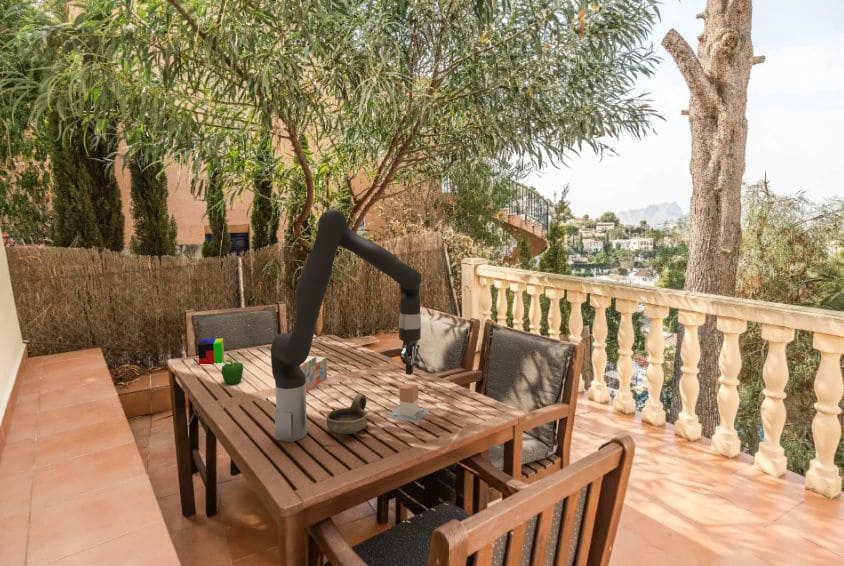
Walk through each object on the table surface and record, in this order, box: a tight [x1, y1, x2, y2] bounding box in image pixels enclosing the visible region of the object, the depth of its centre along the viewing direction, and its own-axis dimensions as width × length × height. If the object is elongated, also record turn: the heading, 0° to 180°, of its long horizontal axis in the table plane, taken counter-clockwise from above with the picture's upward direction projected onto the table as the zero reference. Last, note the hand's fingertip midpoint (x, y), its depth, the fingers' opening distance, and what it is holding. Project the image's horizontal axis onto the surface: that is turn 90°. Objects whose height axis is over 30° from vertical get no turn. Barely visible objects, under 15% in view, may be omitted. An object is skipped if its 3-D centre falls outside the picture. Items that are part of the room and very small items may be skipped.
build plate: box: [386, 404, 431, 424], centre depth 166 cm, size 12×12×2 cm
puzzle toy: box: [197, 337, 225, 365], centre depth 226 cm, size 10×10×10 cm
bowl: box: [325, 393, 369, 435], centre depth 154 cm, size 14×18×10 cm
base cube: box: [399, 398, 419, 417], centre depth 165 cm, size 5×5×5 cm
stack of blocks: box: [299, 355, 328, 393], centre depth 195 cm, size 21×6×12 cm, turn 165°
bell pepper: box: [221, 359, 244, 385], centre depth 197 cm, size 8×8×10 cm
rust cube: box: [399, 382, 419, 403], centre depth 165 cm, size 5×5×5 cm
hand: (409, 374), depth 163 cm, fingers closed
